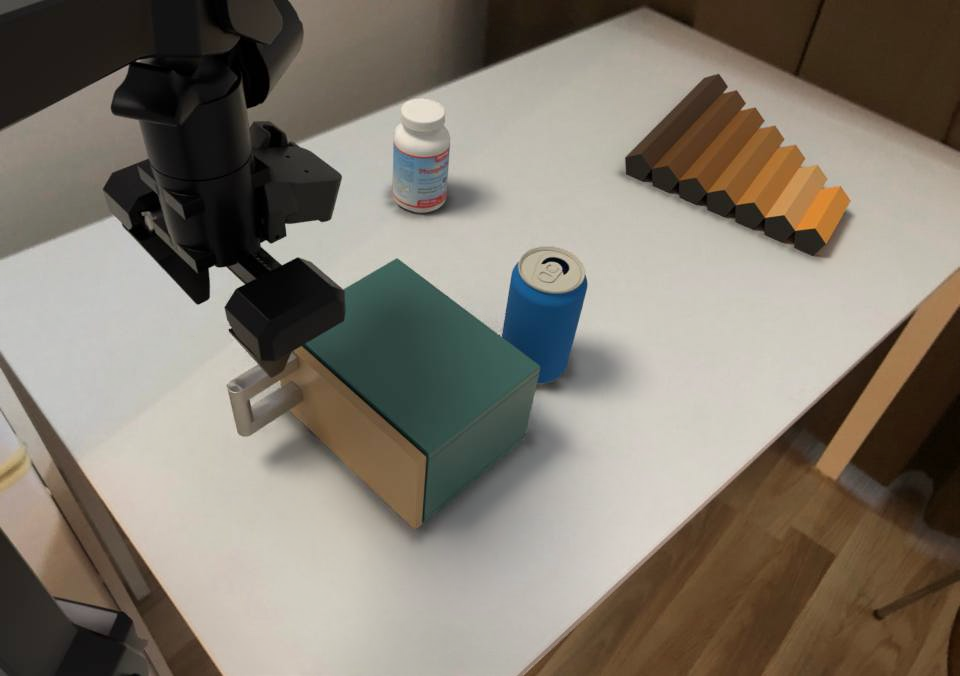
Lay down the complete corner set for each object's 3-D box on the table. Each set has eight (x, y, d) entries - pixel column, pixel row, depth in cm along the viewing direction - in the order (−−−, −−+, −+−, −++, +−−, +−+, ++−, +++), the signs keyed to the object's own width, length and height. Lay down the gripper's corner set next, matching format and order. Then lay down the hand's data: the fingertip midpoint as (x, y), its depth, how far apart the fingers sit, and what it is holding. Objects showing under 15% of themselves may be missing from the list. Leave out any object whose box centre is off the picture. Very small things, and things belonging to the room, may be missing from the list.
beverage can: (578, 357, 76) (603, 263, 67) (545, 400, 72) (567, 307, 63) (520, 327, 78) (537, 232, 69) (485, 367, 74) (498, 272, 65)
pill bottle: (425, 222, 87) (430, 133, 79) (381, 200, 89) (381, 111, 81) (456, 195, 91) (463, 108, 83) (413, 175, 93) (416, 88, 85)
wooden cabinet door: (358, 578, 59) (354, 513, 52) (226, 441, 66) (208, 369, 59) (422, 524, 62) (426, 456, 55) (290, 400, 69) (280, 326, 62)
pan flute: (699, 91, 112) (621, 171, 97) (707, 69, 110) (627, 148, 95) (875, 159, 104) (818, 258, 89) (886, 136, 102) (831, 235, 87)
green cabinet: (424, 523, 62) (429, 453, 55) (293, 399, 69) (283, 323, 62) (525, 438, 69) (541, 366, 62) (395, 332, 76) (397, 257, 69)
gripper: (415, 176, 46) (409, 355, 57) (231, 45, 54) (258, 225, 65) (248, 259, 40) (279, 440, 51) (70, 98, 48) (130, 285, 59)
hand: (238, 336), depth 57 cm, fingers open, 9 cm apart
